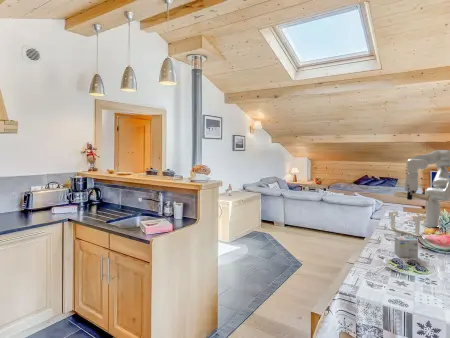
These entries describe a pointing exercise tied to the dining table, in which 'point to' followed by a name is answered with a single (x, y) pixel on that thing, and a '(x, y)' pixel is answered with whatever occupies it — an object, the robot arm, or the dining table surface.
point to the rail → (414, 195)
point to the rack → (417, 229)
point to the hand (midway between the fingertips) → (411, 199)
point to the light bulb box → (406, 247)
